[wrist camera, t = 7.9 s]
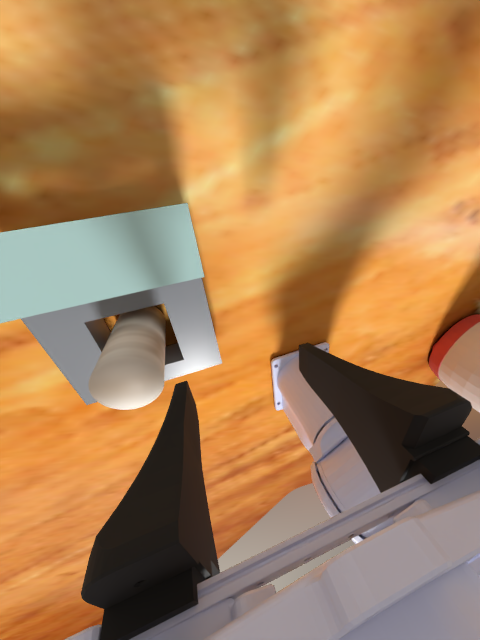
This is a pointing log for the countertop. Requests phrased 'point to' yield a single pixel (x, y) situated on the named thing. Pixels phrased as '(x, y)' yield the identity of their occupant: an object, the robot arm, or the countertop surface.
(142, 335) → the peg
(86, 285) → the socket block
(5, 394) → the countertop surface
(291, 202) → the countertop surface
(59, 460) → the countertop surface
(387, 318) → the countertop surface
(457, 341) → the citrus juicer
